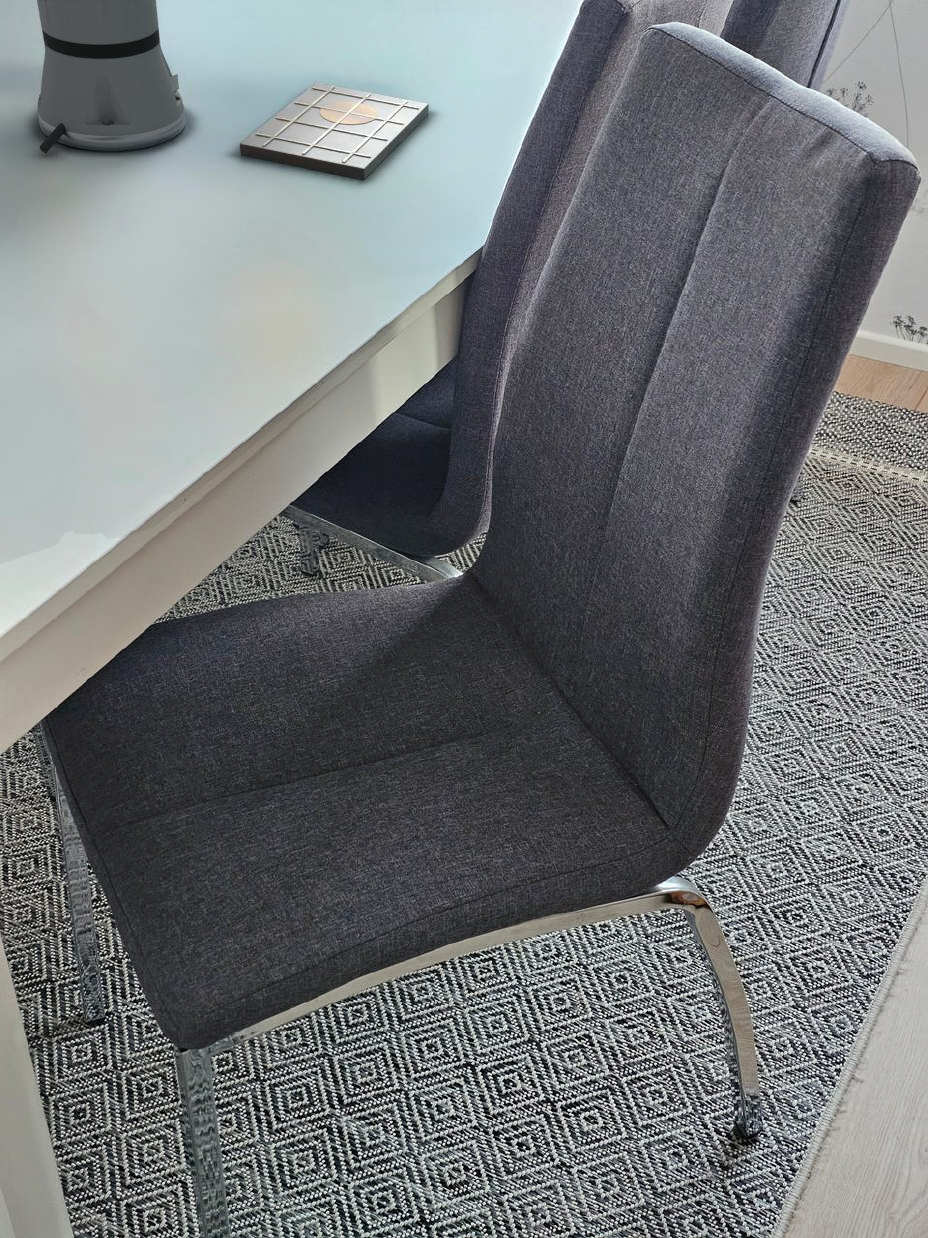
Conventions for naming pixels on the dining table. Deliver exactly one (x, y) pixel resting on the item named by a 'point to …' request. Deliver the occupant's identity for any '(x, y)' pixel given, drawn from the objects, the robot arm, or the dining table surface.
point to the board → (335, 130)
